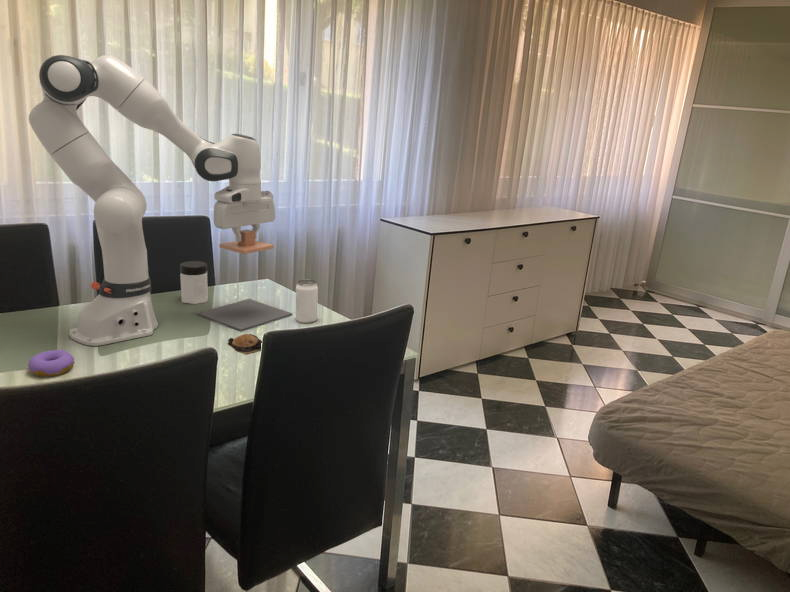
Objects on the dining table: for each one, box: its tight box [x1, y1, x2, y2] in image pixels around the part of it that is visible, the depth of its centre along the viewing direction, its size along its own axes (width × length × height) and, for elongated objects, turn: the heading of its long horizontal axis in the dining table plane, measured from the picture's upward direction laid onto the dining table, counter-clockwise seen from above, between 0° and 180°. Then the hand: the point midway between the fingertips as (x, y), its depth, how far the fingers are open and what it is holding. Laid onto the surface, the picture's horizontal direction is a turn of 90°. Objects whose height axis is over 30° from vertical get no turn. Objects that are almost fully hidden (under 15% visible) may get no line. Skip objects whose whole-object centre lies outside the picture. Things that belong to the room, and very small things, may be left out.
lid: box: [219, 229, 275, 255], centre depth 179 cm, size 11×11×5 cm
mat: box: [196, 298, 293, 332], centre depth 186 cm, size 20×20×1 cm
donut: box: [27, 349, 75, 377], centre depth 143 cm, size 10×9×5 cm
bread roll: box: [227, 333, 263, 355], centre depth 163 cm, size 11×8×4 cm
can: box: [295, 278, 319, 324], centre depth 183 cm, size 6×6×12 cm
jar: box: [179, 260, 209, 305], centre depth 195 cm, size 9×8×12 cm
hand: (246, 240), depth 179 cm, fingers closed on lid, 3 cm apart
